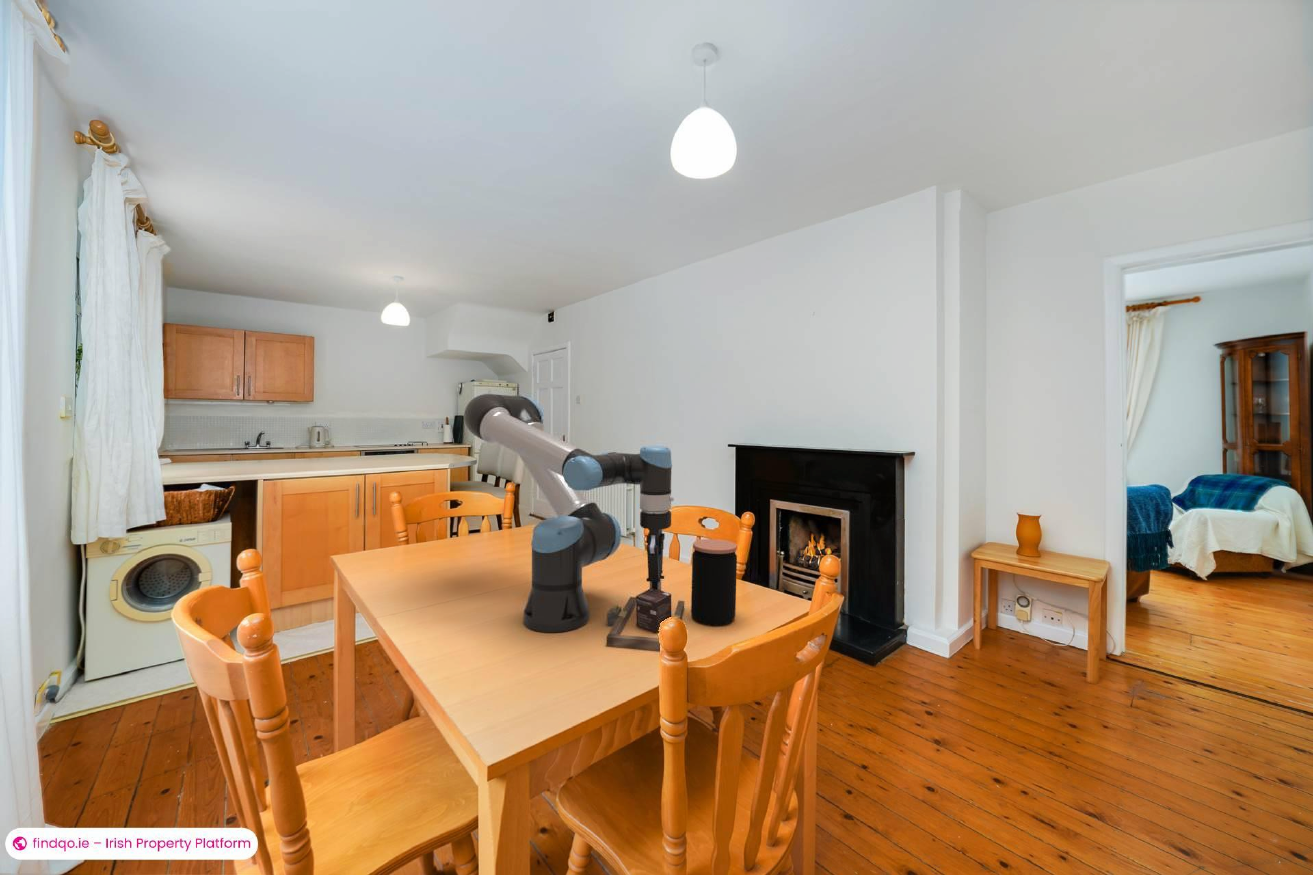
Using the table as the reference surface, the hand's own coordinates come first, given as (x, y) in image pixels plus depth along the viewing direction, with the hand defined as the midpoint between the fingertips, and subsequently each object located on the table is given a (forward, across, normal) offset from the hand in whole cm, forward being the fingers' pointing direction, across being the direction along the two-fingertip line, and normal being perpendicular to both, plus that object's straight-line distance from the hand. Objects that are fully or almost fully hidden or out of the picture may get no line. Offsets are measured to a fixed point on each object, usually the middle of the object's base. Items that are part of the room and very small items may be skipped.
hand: (655, 606), depth 121 cm
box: (+2, -6, -1) cm, 6 cm away
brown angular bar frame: (+2, -6, +2) cm, 7 cm away
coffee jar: (+3, +2, -14) cm, 14 cm away
